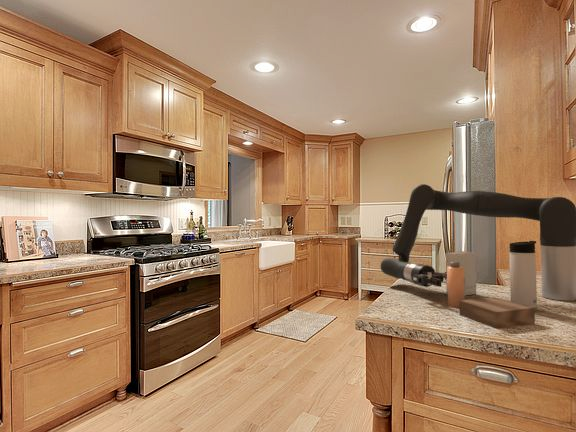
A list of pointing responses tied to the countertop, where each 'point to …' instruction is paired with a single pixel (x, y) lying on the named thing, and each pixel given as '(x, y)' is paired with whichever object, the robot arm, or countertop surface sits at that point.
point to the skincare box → (465, 269)
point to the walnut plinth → (497, 312)
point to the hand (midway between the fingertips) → (452, 282)
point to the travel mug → (523, 273)
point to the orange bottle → (455, 284)
